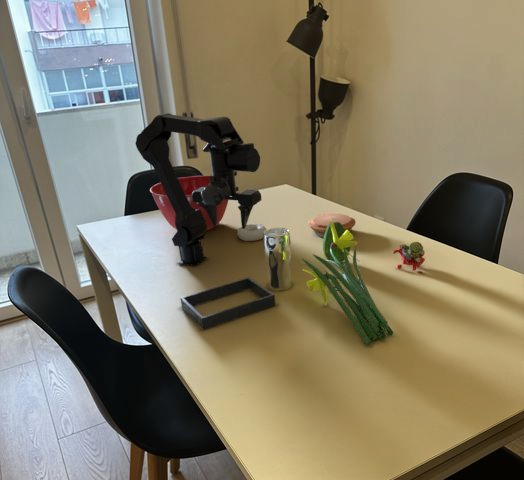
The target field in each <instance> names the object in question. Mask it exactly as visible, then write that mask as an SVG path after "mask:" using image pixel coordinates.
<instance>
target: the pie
mask: <svg viewBox="0 0 524 480" xmlns="http://www.w3.org/2000/svg"><path fill="white" fill-rule="evenodd" d="M331 219H332V221H333V222H339V223H341V224H342V226H343V227H344V229H345V231H346V230H348V231H349V232H352V229H353V228H354V227H355V225H356V223H357V222H356V219H355V218H353V217H351V216H349V215H348V214H343V213H324V214H320V215H317V216H315V217H314V218H312V219H310V220H309V221H308V222H307V226H308V227H309V228H310V229H311V230H312V232H313V233H314V234H315V236H317V237H318V238H322V239H324V235H325V231H326V228H327V226H328V225H329V224H330V222H331Z"/></svg>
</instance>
